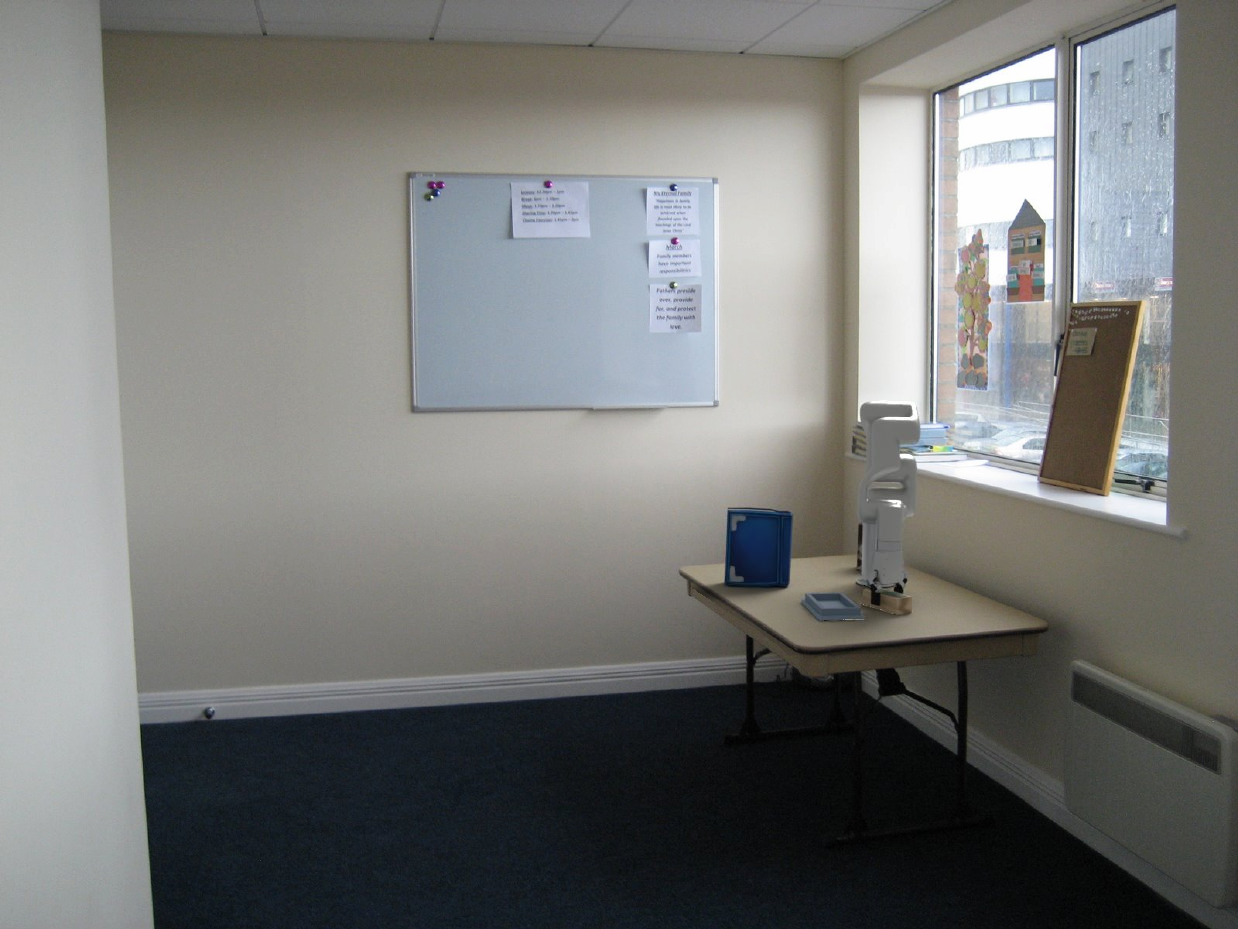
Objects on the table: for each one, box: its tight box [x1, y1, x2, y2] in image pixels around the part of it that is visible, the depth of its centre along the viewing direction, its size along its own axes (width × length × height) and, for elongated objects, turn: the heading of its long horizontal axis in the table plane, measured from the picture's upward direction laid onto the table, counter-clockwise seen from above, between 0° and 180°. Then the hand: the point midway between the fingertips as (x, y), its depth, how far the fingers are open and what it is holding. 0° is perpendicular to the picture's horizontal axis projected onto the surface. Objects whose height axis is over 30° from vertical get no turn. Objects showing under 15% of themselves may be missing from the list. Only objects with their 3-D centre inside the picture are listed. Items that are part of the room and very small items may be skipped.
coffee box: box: [856, 521, 863, 571], centre depth 378 cm, size 9×6×16 cm
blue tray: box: [800, 592, 866, 622], centre depth 320 cm, size 13×22×3 cm, turn 4°
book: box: [723, 506, 794, 588], centre depth 353 cm, size 22×7×25 cm, turn 84°
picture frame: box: [862, 587, 913, 616], centre depth 323 cm, size 6×14×5 cm, turn 30°
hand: (887, 602), depth 323 cm, fingers open, 9 cm apart
